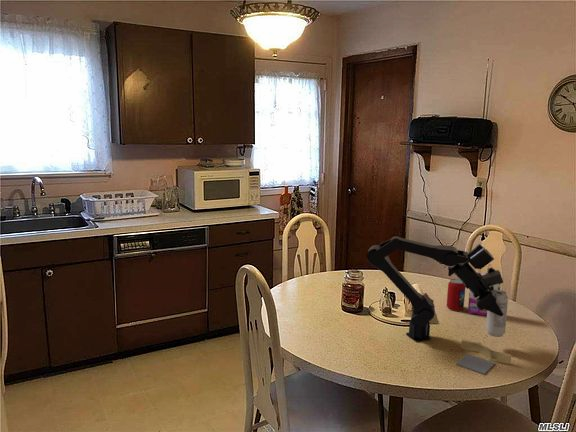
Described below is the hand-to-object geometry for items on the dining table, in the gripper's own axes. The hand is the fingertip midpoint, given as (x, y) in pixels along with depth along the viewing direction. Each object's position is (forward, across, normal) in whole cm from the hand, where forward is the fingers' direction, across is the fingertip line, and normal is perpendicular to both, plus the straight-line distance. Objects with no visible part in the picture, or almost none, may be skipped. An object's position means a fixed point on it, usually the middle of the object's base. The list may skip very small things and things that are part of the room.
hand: (501, 312), depth 161 cm
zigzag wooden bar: (+6, -7, +13) cm, 16 cm away
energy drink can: (+5, 0, +7) cm, 8 cm away
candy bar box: (+8, +30, +11) cm, 33 cm away
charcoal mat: (+4, -14, +15) cm, 21 cm away
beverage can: (0, +32, +19) cm, 37 cm away
